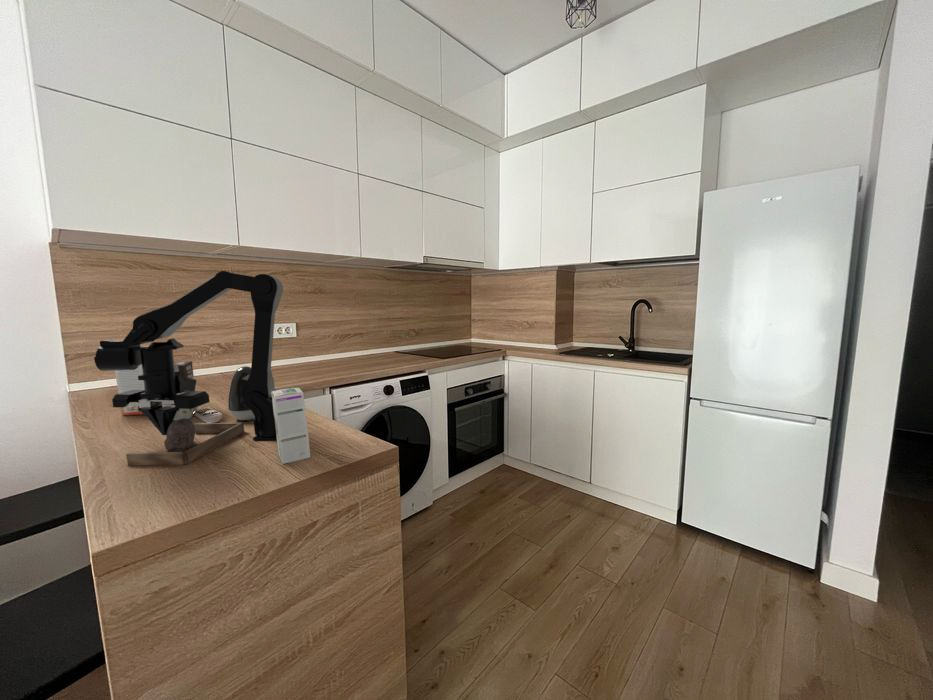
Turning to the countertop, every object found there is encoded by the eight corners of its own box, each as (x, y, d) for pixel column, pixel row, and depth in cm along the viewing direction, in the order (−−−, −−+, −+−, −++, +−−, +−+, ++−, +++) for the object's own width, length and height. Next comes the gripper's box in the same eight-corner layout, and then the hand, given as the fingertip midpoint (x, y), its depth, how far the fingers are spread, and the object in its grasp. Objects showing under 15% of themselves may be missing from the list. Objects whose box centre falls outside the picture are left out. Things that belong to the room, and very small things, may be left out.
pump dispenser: (247, 425, 103) (241, 370, 101) (221, 421, 107) (214, 369, 105) (278, 414, 112) (273, 364, 110) (253, 411, 116) (248, 362, 114)
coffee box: (191, 418, 111) (183, 365, 108) (164, 422, 108) (156, 367, 106) (198, 410, 119) (192, 360, 117) (174, 413, 117) (166, 362, 114)
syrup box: (311, 458, 80) (305, 391, 78) (280, 465, 77) (273, 395, 75) (306, 449, 85) (300, 386, 83) (277, 455, 82) (270, 390, 80)
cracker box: (181, 408, 122) (172, 344, 119) (167, 414, 116) (157, 346, 113) (137, 410, 122) (127, 346, 119) (121, 416, 116) (110, 348, 113)
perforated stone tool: (169, 440, 92) (173, 411, 92) (196, 439, 94) (200, 412, 94) (159, 458, 79) (164, 425, 79) (190, 458, 82) (194, 426, 82)
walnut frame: (244, 431, 98) (243, 422, 97) (186, 464, 78) (184, 453, 78) (197, 432, 98) (195, 423, 98) (127, 465, 79) (126, 454, 79)
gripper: (222, 363, 94) (227, 424, 96) (150, 362, 94) (156, 422, 97) (188, 372, 83) (194, 440, 85) (106, 371, 83) (114, 438, 85)
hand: (165, 434), depth 88 cm, fingers closed
